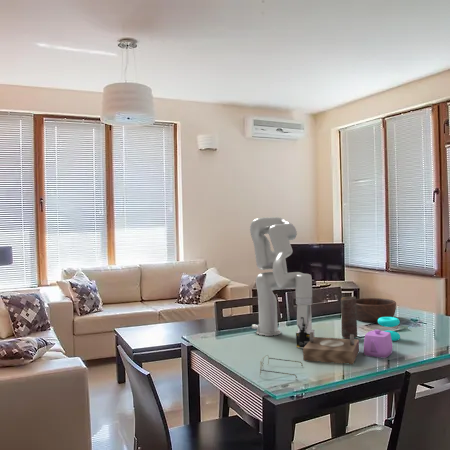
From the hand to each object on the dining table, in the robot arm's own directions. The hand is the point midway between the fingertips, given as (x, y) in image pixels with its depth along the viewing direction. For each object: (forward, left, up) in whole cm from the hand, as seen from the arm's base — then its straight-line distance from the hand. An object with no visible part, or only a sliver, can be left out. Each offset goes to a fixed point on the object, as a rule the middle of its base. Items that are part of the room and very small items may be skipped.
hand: (305, 338), depth 215 cm
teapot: (+32, -4, -4) cm, 32 cm away
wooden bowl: (+24, +69, -4) cm, 73 cm away
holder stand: (+14, -12, -4) cm, 19 cm away
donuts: (+35, +23, -4) cm, 42 cm away
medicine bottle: (0, 0, -4) cm, 4 cm away
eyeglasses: (-1, -39, -4) cm, 39 cm away
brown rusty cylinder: (+17, +20, -4) cm, 26 cm away
